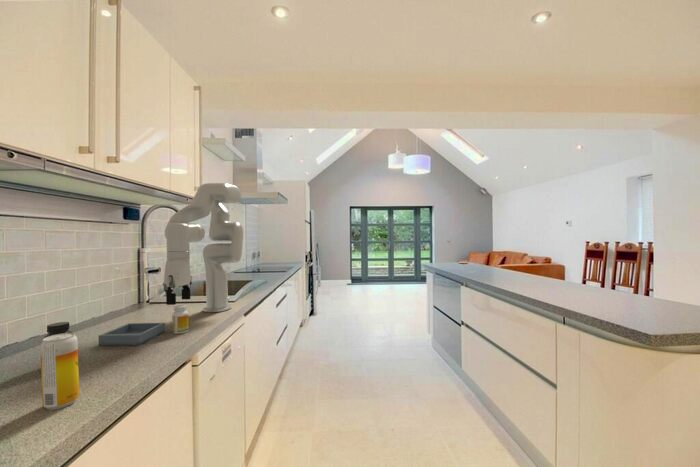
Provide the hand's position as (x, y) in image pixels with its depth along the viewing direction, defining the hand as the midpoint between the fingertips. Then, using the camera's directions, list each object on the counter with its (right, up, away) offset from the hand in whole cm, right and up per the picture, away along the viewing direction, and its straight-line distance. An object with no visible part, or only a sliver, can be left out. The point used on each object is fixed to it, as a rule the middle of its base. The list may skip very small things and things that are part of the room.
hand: (178, 301), depth 119 cm
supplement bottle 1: (-20, -13, -27) cm, 36 cm away
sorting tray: (-13, -12, -6) cm, 18 cm away
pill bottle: (0, -13, -48) cm, 50 cm away
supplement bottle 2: (0, -12, +1) cm, 12 cm away
